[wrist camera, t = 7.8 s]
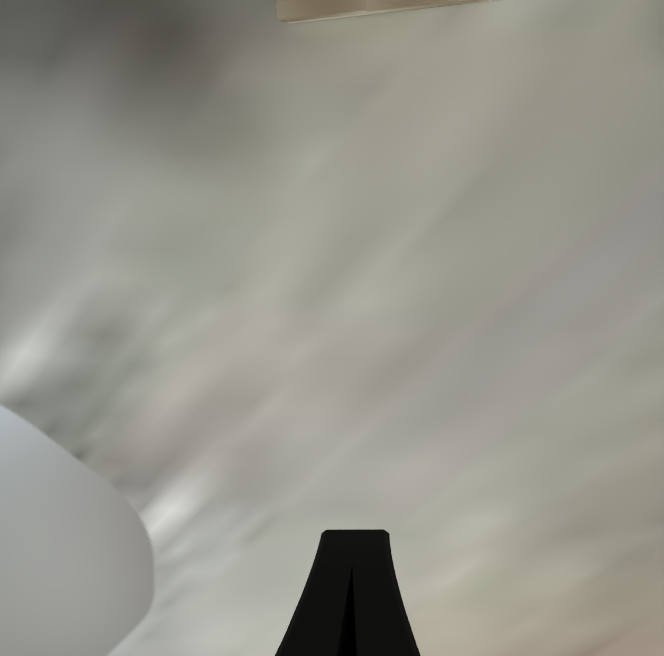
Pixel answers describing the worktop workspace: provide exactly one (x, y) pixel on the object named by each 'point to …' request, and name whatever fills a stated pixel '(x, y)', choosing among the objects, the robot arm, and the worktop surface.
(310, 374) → the worktop surface
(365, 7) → the button board
